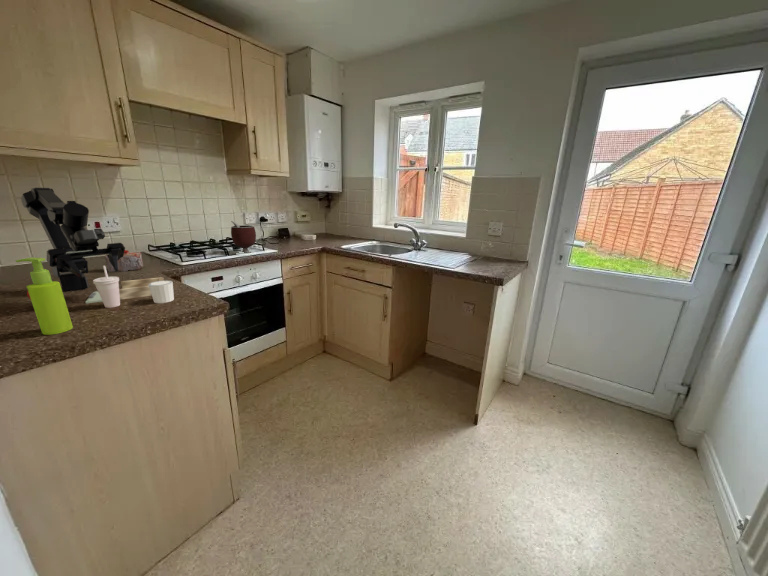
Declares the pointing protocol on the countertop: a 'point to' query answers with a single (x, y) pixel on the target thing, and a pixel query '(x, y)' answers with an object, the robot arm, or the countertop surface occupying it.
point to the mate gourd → (243, 236)
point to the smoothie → (108, 290)
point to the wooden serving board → (137, 288)
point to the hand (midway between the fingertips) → (100, 273)
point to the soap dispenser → (47, 300)
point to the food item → (127, 262)
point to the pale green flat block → (94, 298)
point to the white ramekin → (162, 291)
